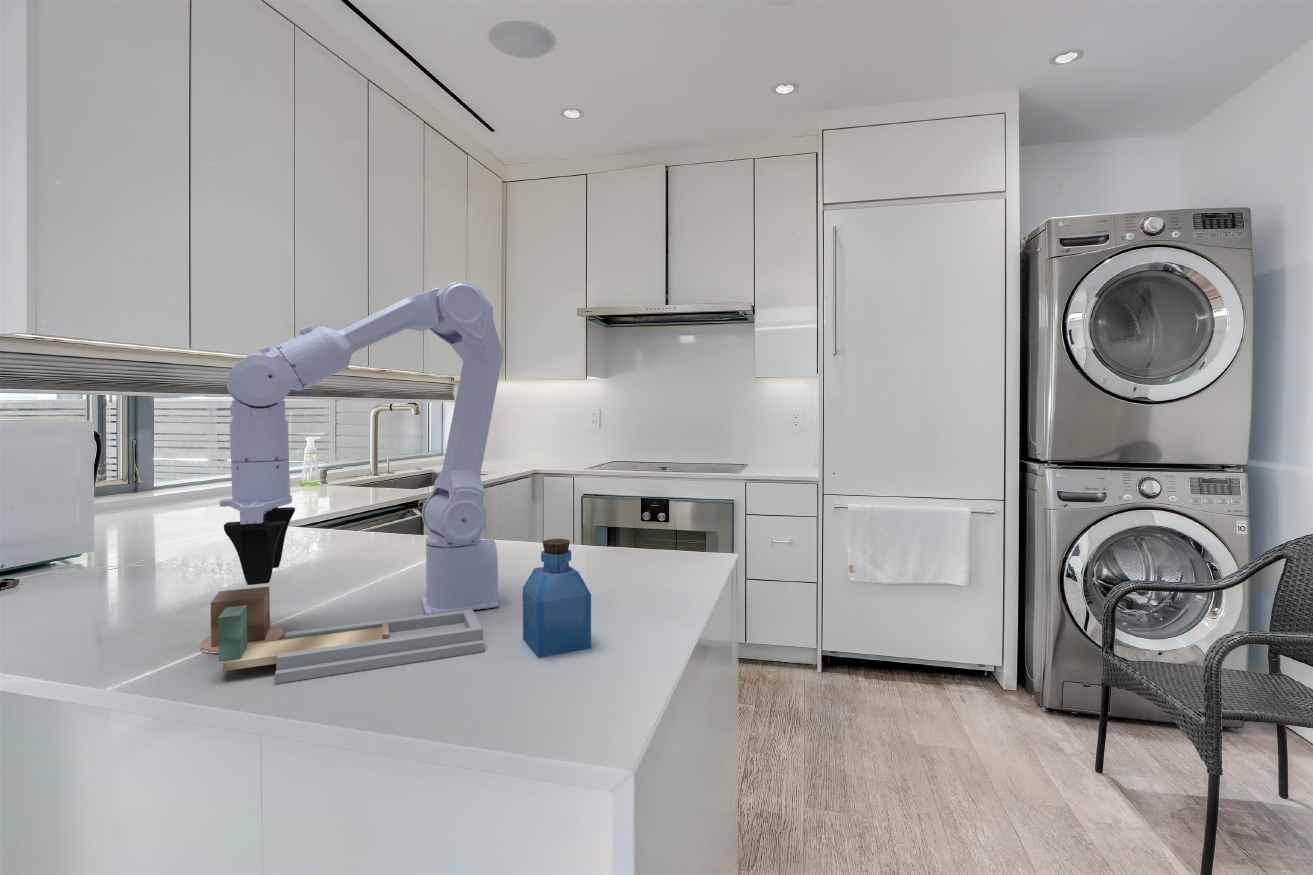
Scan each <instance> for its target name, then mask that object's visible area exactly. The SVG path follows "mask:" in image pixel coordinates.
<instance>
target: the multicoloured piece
mask: <svg viewBox="0 0 1313 875" xmlns="http://www.w3.org/2000/svg"><path fill="white" fill-rule="evenodd" d="M218 637H219V654H218V662H222V663H221V664H222V672H227V671H233V670H241V669H247V668H254V667H262V666H269V665H276V657H277V655H278V654H281V653H288V652H295V651H303V650H310V649H317V648H324V647H332V646H339V645H346V644H353V643H361V642H368V641H375V640H382V639H389V631H388V622H382V627H379V628H372V629H364V630H356V631H348V632H341V633H333V634H325V635H318V636H310V637H302V638H295V639H287V640H285V639H280V640H278V641H271V642H264V643H256V644H248V645H247V605H244V606H234V607H226V608H225V609H224V611H223V612H222V613H221V615H220V616H219V617H218Z"/></svg>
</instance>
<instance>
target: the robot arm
mask: <svg viewBox="0 0 1313 875" xmlns="http://www.w3.org/2000/svg"><path fill="white" fill-rule="evenodd" d="M440 289H441V287H436V288H433V289H432V288H431V289H430V290H425V291H423V292H420V293H417V294H414V295H411V296H408V297H406V298H403V299H401V300H399V301H397V302H395V303H393V304H391V305H389V306H387V307H385V308H384V309H383V308H382V309H381V310H379V311H377V312H375V313H373V314H370V315H368V316H366V317H364V318H362V319H360V320H358V321H356V322H354V323H353V324H350V325H349V326H347V327H344V328H342V329H341V330H339V329H334V328H330V327H327V326H323V325H321V326H318V327H315V328H313V327H312V325H308V326H306V327H303V328H301V329H300V330H299V334H300V335H298V336H296V337H294V338H293V337H292V338H291V339H289V340H287V341H285V342H282V343H280V344H277V345H275V346H273V347H270V346H269V345H265V346H263V347H261V348H260V349H259V352H260V353H261V354H254V353H253V354H249V355H246V356H245V358H244V359H241V360H240V361H238V362H236V363H235V364H234V366H233V367H232V368H231V369H230V372H229V374H228V379H227V380H228V381H227V382H226V388H227V391H228V394H229V395H230V396H231V398H232V399H233V400H232V401H231V404H230V410H229V411H230V415H231V417H232V419H231V420H230V421H229V439H230V442H229V443H230V447H229V448H230V466H231V467H230V469H231V470H230V471H231V498H221V500H219V507H230V508H233V509H234V510H236V511H238V512H239V521H229V522H226V523H224V524H223V530H224V533H225V534H226V536H227V537H228V538H229V540H230V541H231V543H232V544H233V546H234V549H235V551H236V553H237V555H238V559H239V562H240V565H241V568H242V574H243V577H244V580H245V583H246V584H247V586H253V585H254V586H255V585H262V584H269V583H270V582H271V579H272V574H273V570H274V569H278V568H279V566H280V565H281V561H282V556H283V552H284V551H283V550H284V545H285V540H286V534H287V532H288V531H287V530H288V528H289V525H290V522H291V520H292V517H293V516H294V514H295V512H296V507H295V506H293V507H292V506H290V507H287V506H286V505H289V504H292V503H293V495H291V482H290V480H291V479H290V478H291V476H290V475H291V474H290V450H289V449H290V446H289V444H290V442H289V421H287V419H286V401H285V399H286V398H287V396H288V395H289V393H290V391H291V390H293V391H297V392H301V391H303V390H305V389H307V388H309V387H311V386H314V385H315V384H317V383H319V382H321V381H323V380H325V379H327V378H329V377H332V376H334V375H335V374H337V373H340V372H342V371H344V370H346V369H348V368H349V366H350V362H351V359H352V356H353V354H354V353H355V352H357V351H359V350H362V349H364V348H366V347H368V346H371V345H373V344H375V343H377V342H380V341H382V340H384V339H386V338H389V337H390V336H393V335H395V334H398V333H400V332H402V331H404V330H412V331H416V332H417V331H418V332H419V331H420V332H425V331H427V330H430V331H431V332H432V333H433V334H434V335H435V336H437V337H439V338H440V339H442V340H443V341H445V342H446V343H447V344H448V345H450V346H451V348H452V349H453V350H454V351H455V352H456V354H457V355H458V356H459V358H460V359H461V361H462V366H461V371H460V372H461V373H460V376H459V381H458V382H459V383H458V387H457V392H456V396H455V403H454V407H453V413H452V419H451V423H450V428H449V432H448V438H447V444H446V449H445V453H444V458H443V463H442V469H441V470H440V473H439V474H438V475H437V477H436V479H435V481H434V483H433V488H432V491H431V493H430V495H429V496H428V498H427V499H426V500H425V502H424V504H423V506H422V509H421V518H422V519H421V520H422V522H423V524H424V526H425V527H426V529H428V530H429V534H428V536H427V538H426V539H425V557H426V558H425V561H426V562H425V566H426V567H425V568H426V569H425V570H426V572H425V574H426V576H425V577H426V578H425V581H426V585H425V586H426V587H425V588H426V590H425V591H426V596H421V603H422V607H423V610H424V615H429V614H437V613H445V612H453V611H461V610H469V609H472V610H473V611H476V610H484V609H491V608H498V607H499V606H500V603H499V602H498V601H499V584H498V583H499V574H498V573H499V566H498V565H499V561H498V560H499V559H498V550H497V545H496V542H495V539H490V538H487V539H481V537H482V536H481V534H482V533H483V531H484V529H485V527H486V524H487V513H486V510H485V507H484V505H485V504H484V500H485V499H484V497H485V494H486V493H485V489H484V488H485V487H484V485H483V482H482V478H481V472H482V468H483V467H482V466H483V462H484V456H485V452H486V448H487V442H488V438H489V437H488V436H489V430H490V426H491V420H492V417H493V416H492V415H493V410H494V404H495V401H496V400H495V399H496V395H497V389H498V384H499V383H498V382H499V378H500V373H501V367H502V362H503V347H502V344H501V341H500V337H499V335H498V331H497V327H496V325H495V321H494V306H493V305H492V303H491V302H490V301H489V299H487V297H486V296H485V295H484V293H483V292H482V291H481V289H479V288H478V287H477V286H476V285H474V284H472V283H470V282H468V281H462V280H461V281H459V280H458V281H454V282H451V283H449V284H448V285H446V286H445V287H444V288H443V289H442V290H440ZM283 506H286V507H283Z"/></svg>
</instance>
